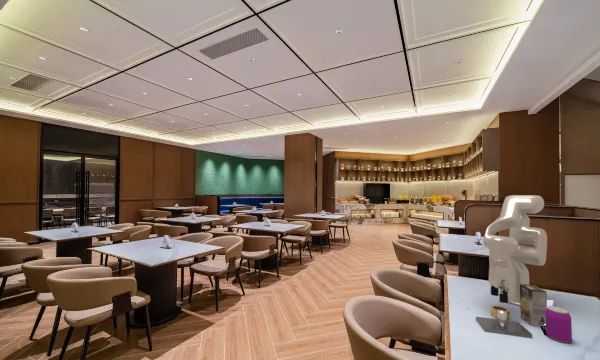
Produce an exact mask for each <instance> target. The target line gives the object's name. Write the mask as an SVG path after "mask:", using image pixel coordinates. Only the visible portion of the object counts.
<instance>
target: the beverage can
mask: <svg viewBox="0 0 600 360" xmlns="http://www.w3.org/2000/svg"><path fill="white" fill-rule="evenodd" d="M545 313H546V327H545V334H546V335H547V336H548V337H549V338H550V339H552V340H554V341H556V342H560V343H563V344H569V343H571V342H572V341H573V332H572V331H573V330H572V329H573V326H572V317H571V314H570V313H569V310H567V309H565V308H562V307H559V306H554V305H547V310H546V311H545Z"/></svg>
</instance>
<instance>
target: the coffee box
mask: <svg viewBox="0 0 600 360" xmlns="http://www.w3.org/2000/svg"><path fill="white" fill-rule="evenodd" d="M547 296H548V293H547V291H546V290H544V289H542V288H540V287H539V286H537V285H535V284H529V285H528V284H520V306H519V307H520V308H519V309H520V311H519V312H520V314H519V315H520V318H521V319H523V320H524V321H526V322H527V323H528V324H529V325H530V326H532V327H542V326H543V325H544V324H545V323H546V313H545V311H546V310H547V308H548V299H547V298H548V297H547ZM542 328H543V327H542Z"/></svg>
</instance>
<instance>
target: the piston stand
mask: <svg viewBox="0 0 600 360" xmlns="http://www.w3.org/2000/svg"><path fill="white" fill-rule="evenodd" d="M475 321H476V322H477V323H478V324H479V326H480V327H481V328H482V330H483V331H484V332H486V333H493V334H501V335H506V336H507V335H508V336H515V337H522V338H528V339H533V334H532V333H531V332H530V331H529V330H528V329H527V328H526V327H525V326H524V325H523V324H521V323H520V322H519V321H515V320H513V321H512V320H508V321H507V312H506V311H504V310H501V309H497V319H496V318H489V317H482V316H475Z"/></svg>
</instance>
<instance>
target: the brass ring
mask: <svg viewBox="0 0 600 360" xmlns="http://www.w3.org/2000/svg"><path fill="white" fill-rule="evenodd" d="M497 309H501V310H504V311H506V312H507V321H511V320H510V319H511V313H510V309H509V308H507V307H504V306H502V305H494V304H493V305H490V316H491V317H492V318H493V319H497Z"/></svg>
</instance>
